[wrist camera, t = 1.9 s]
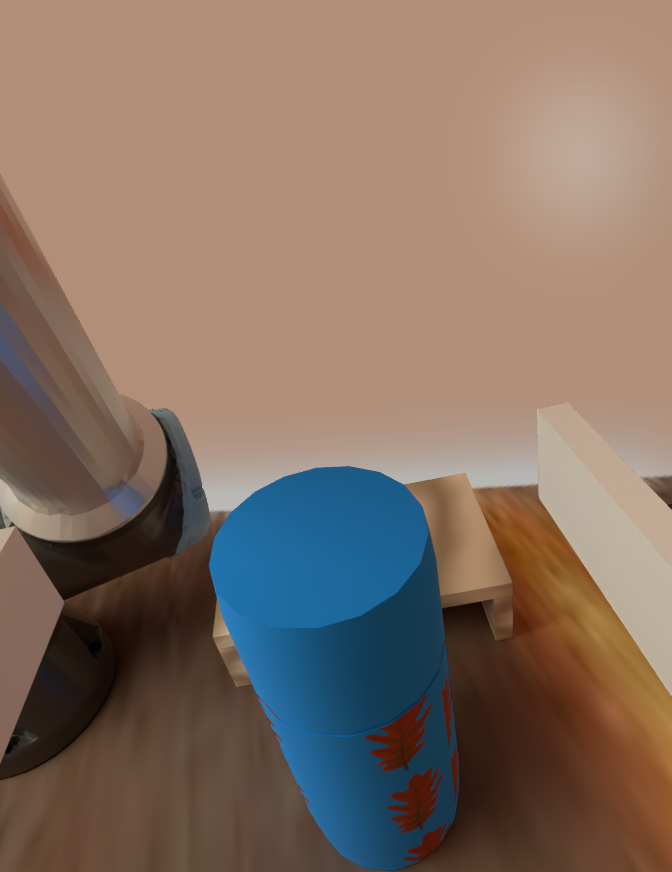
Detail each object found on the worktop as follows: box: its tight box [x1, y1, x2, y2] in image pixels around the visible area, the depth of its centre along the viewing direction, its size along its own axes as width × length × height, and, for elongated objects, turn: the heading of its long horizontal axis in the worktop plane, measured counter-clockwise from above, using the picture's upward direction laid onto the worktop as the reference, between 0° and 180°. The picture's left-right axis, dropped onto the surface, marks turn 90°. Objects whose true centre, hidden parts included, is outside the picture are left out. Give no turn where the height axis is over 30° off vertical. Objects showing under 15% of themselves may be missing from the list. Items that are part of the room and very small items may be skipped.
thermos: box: [209, 466, 459, 871], centre depth 34 cm, size 11×11×25 cm
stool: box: [213, 473, 513, 687], centre depth 53 cm, size 24×14×7 cm, turn 95°
